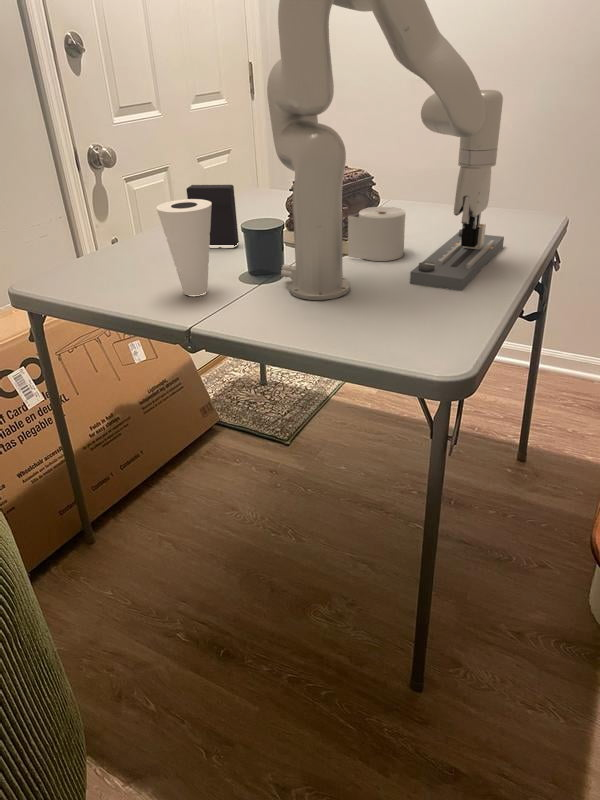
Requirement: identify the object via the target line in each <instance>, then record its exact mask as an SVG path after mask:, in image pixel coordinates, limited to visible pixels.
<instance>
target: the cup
mask: <svg viewBox="0 0 600 800" xmlns="http://www.w3.org/2000/svg"><path fill="white" fill-rule="evenodd" d="M211 206H212V203H211V202H210V201H207V200H202V199H188V198H186V199H184V198H183V199H174V200H171V201H166V202H163V203H160V204H158V205H157V206H156V211H157V215H158V217H159V221H160V223H161V226H162V230H163V232H164V233H163V234H164V235H165V237H166V241H167V244H168V248H169V251H170V254H171V257H172V261H173V263H174V264H173V265H174V267H175V268H176V272H177V276H178V280H179V282H180V285H181V289H182V292H183V295H184V294H186V295H200V294H203V293H205V292H207V293H208V287H209V286H208V285H209V283H208V282H209V262H210V248H209V245H210V227H211Z"/></svg>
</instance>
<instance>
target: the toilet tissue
mask: <svg viewBox="0 0 600 800" xmlns="http://www.w3.org/2000/svg"><path fill="white" fill-rule="evenodd" d="M405 229H406V210H405V209H402V208H400V207H395V206H373V207H372V206H371V207H367V208H363V209H361V210H360V211H358V216H352V215H348V216H347V249H348V250H347V253H348V254H347V256H348V257H349V258H354V259H360V260H361V259H362V260H366V261H373V262H387V261H388V262H390V261H396V260H399V259H400V258H403V256H404V253H405V232H406V231H405Z"/></svg>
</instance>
